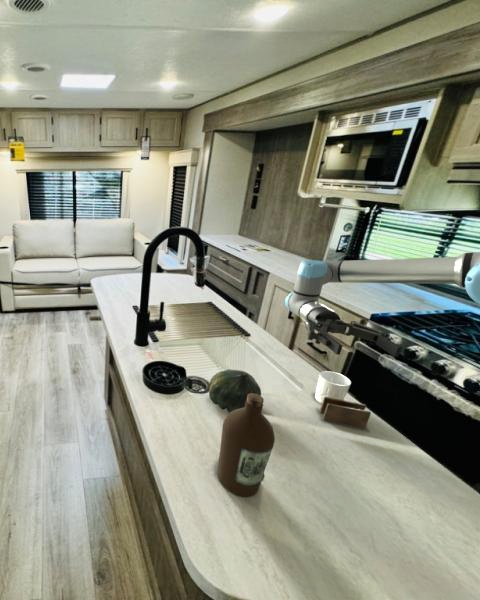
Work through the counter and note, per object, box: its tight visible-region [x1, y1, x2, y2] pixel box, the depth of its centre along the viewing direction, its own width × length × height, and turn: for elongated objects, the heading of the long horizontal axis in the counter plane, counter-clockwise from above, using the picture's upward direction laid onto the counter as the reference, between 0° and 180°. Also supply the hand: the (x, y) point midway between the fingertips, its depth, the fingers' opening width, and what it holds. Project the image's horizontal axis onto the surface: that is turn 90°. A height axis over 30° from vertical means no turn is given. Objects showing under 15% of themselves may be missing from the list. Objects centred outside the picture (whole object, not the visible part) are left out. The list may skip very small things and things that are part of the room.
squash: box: [208, 369, 262, 413], centre depth 100 cm, size 14×15×15 cm
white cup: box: [314, 370, 352, 404], centre depth 100 cm, size 8×8×10 cm
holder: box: [319, 397, 372, 430], centre depth 93 cm, size 10×5×7 cm, turn 68°
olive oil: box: [216, 393, 276, 498], centre depth 73 cm, size 11×11×25 cm
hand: (368, 351), depth 79 cm, fingers open, 13 cm apart
